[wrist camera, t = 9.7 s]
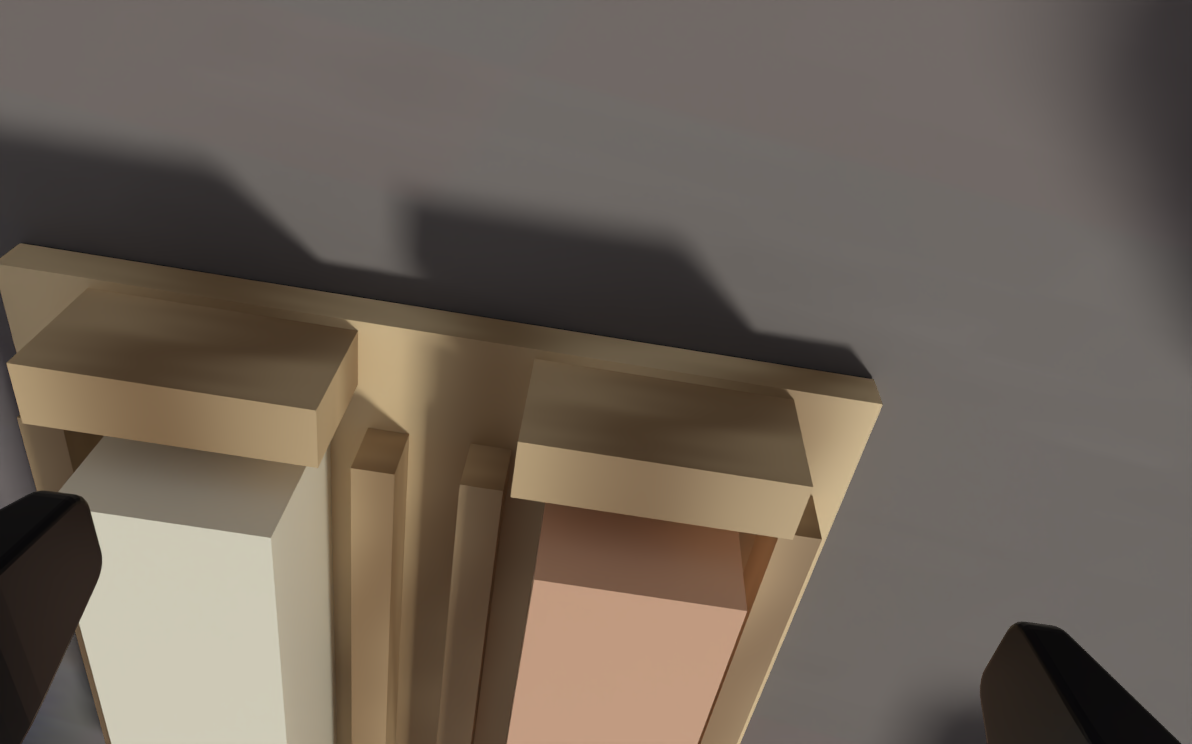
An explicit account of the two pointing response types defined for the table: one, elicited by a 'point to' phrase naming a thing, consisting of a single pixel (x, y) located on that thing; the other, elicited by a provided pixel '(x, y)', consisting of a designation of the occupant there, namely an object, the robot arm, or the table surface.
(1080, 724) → the robot arm
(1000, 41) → the table surface
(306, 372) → the rack
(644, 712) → the fired brick
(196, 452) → the long ivory plank
